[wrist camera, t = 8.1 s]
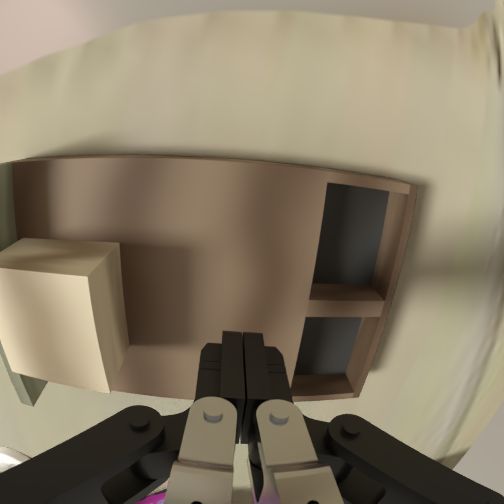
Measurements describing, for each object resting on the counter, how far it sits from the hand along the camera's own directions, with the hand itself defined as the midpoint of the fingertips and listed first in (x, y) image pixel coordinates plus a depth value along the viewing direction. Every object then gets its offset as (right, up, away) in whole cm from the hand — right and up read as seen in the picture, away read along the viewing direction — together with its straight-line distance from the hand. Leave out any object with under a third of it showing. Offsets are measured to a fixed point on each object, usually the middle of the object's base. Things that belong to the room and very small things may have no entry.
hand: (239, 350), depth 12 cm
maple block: (-9, +1, +3) cm, 10 cm away
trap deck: (-3, +2, +6) cm, 7 cm away
